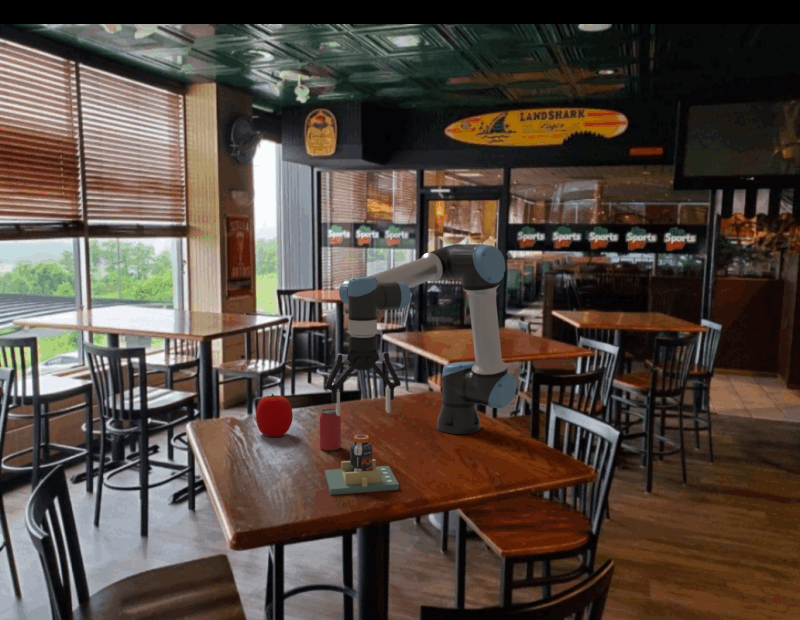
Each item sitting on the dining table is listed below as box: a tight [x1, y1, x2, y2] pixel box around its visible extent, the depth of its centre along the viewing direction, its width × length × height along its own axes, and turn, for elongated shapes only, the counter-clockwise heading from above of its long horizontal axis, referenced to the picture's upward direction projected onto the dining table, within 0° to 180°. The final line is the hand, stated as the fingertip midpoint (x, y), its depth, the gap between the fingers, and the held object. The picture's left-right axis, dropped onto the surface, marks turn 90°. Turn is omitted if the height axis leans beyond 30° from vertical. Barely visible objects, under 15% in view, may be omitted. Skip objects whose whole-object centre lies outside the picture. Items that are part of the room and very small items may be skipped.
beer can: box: [319, 408, 342, 452], centre depth 202 cm, size 7×7×12 cm
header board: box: [324, 458, 400, 496], centre depth 175 cm, size 18×14×4 cm
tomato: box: [255, 393, 294, 438], centre depth 215 cm, size 13×11×14 cm
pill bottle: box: [349, 434, 373, 472], centre depth 174 cm, size 6×6×11 cm
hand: (363, 413), depth 174 cm, fingers open, 13 cm apart
